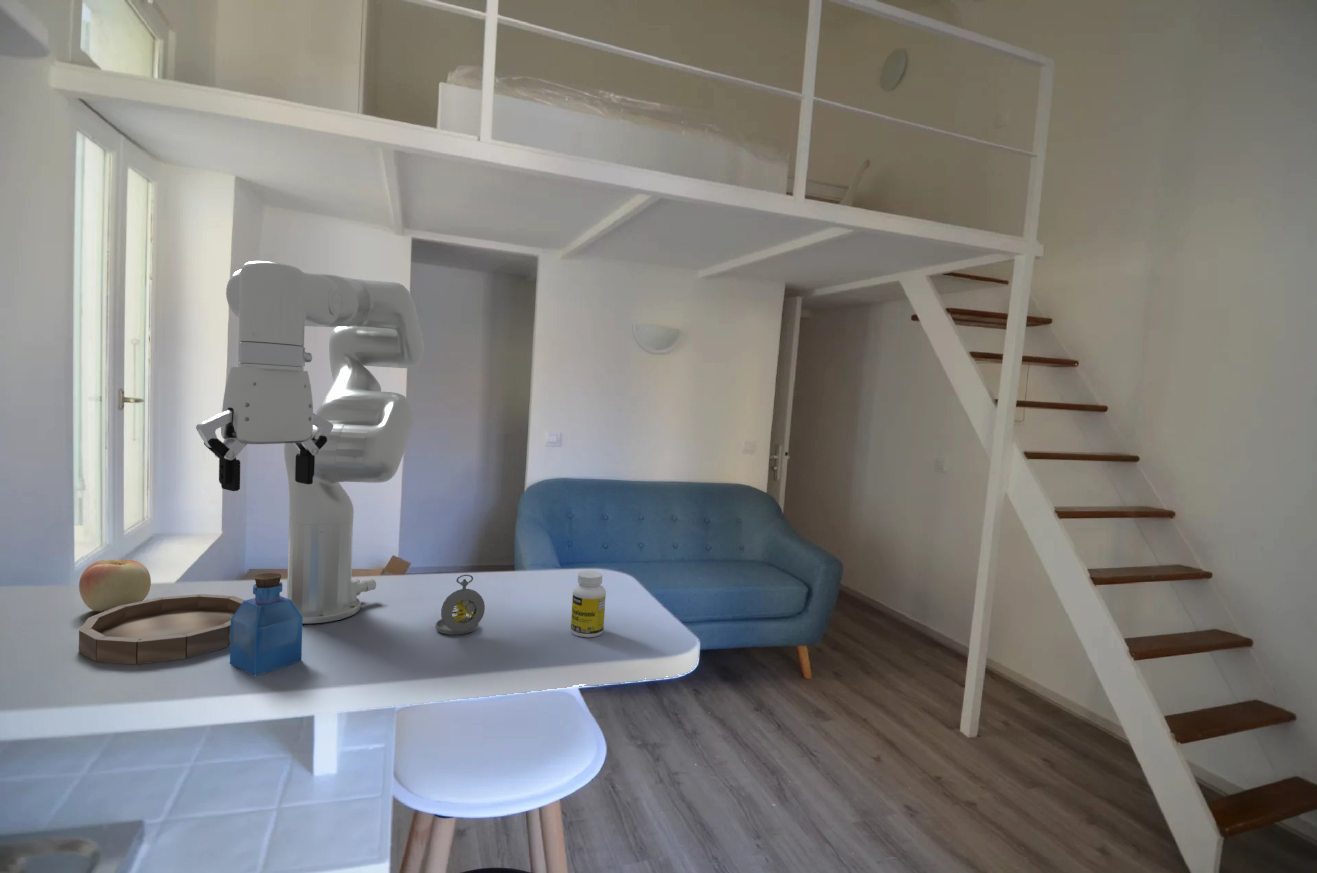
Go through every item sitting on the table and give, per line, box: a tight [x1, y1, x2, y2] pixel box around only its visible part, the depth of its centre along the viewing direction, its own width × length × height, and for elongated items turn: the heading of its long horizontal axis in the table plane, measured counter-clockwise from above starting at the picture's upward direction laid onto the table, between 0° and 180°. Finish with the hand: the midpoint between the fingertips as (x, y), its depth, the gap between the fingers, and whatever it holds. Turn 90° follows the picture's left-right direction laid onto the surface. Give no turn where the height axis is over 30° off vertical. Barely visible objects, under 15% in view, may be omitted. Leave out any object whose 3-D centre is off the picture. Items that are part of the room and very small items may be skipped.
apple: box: [78, 559, 152, 613], centre depth 106 cm, size 9×9×8 cm
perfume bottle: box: [229, 572, 303, 676], centre depth 90 cm, size 6×6×12 cm
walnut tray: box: [78, 593, 245, 665], centre depth 97 cm, size 20×20×3 cm
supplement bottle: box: [570, 570, 607, 638], centre depth 109 cm, size 5×5×10 cm
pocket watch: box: [434, 574, 486, 635], centre depth 105 cm, size 8×8×10 cm
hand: (268, 486), depth 89 cm, fingers open, 9 cm apart
